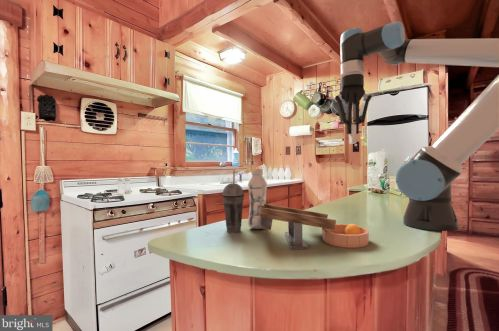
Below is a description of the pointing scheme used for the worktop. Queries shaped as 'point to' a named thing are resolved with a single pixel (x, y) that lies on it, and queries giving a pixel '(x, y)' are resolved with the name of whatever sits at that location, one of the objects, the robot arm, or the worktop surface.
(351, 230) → the ball
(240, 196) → the beverage cup
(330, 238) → the bowl
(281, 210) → the trough
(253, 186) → the plastic bottle
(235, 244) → the worktop surface
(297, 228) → the stand
